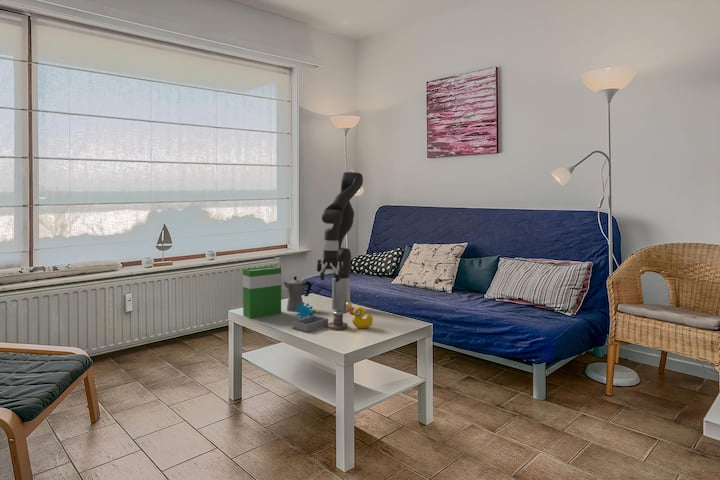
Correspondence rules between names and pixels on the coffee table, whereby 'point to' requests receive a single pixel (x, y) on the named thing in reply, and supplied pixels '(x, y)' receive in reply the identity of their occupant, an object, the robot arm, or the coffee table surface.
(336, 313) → the crank
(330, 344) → the coffee table surface
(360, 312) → the duckling
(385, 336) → the coffee table surface
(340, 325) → the base
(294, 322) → the tray
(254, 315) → the green box
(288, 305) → the coffeepot
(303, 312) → the gear
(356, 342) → the coffee table surface
